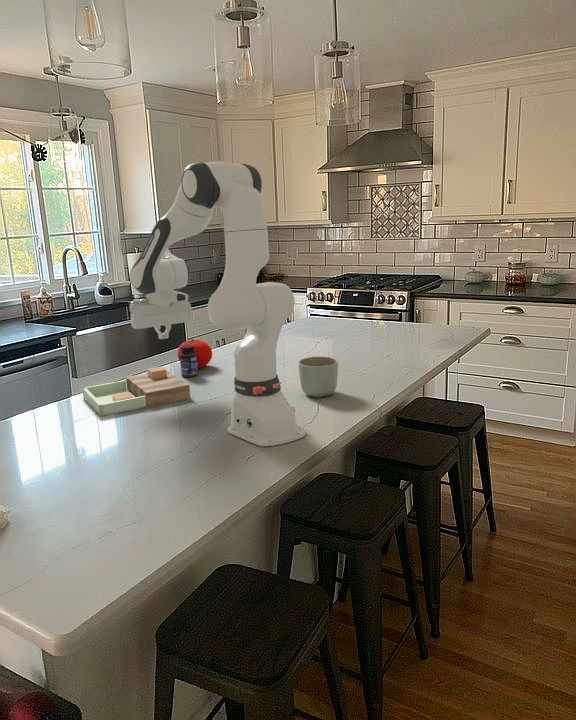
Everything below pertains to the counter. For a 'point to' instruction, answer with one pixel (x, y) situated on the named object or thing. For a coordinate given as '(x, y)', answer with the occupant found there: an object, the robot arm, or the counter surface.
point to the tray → (103, 399)
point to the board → (158, 388)
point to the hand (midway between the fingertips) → (163, 338)
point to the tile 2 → (157, 372)
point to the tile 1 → (121, 397)
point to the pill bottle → (188, 361)
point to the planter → (318, 375)
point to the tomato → (199, 351)
